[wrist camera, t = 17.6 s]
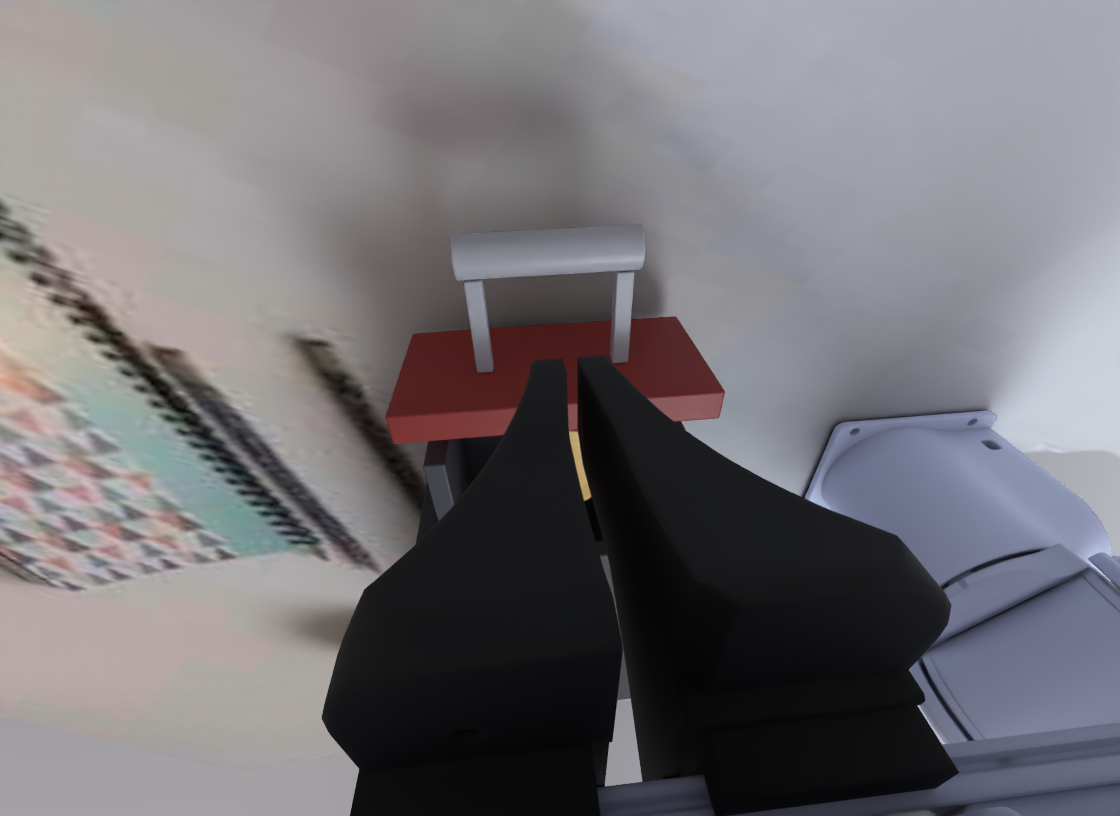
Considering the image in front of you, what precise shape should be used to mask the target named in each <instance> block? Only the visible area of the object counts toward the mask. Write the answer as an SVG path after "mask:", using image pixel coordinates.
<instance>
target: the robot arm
mask: <svg viewBox="0 0 1120 816" xmlns="http://www.w3.org/2000/svg"><path fill="white" fill-rule="evenodd" d="M996 420H997V415H996V414H995V413H994V412H992V411H989V410H988V411H976V412H963V413H951V414H939V415H926V416H914V417H901V418H889V419H877V420H864V421H852V422H843V423H840V424H838V425H837V426H836V427H835V429H834V430H833V433H832V435H831V437H830V440H829V442H828V445H827V447H826V449H825V452H824V454H823V456H822V459H821V461H820V463H819V466H818V468H817V470H816V473H815V475H814V477H813V480H812V482H811V484H810V487H809V489H808V491H807V494H806V496H805V498H802V497H800V496H798V495H796V494H794V493H791V492H789V491H787V490H785V489H783V488H781V487H779V486H777V485H775V484H773V483H771V482H769V481H767V480H765V479H763V478H761V477H759V476H758V475H756V474H754V473H752V472H750V471H749V470H747V469H745V468H743V467H741V466H740V465H738V464H736V463H734V462H732V461H731V460H729V459H727V458H726V457H724V456H722V455H721V454H719V453H718V452H716V451H715V450H713V449H712V448H710V447H709V446H707V445H706V444H704V443H703V442H701V441H700V440H698V439H697V438H695V437H694V436H692V435H691V434H690V433H688V432H687V431H685V430H684V429H683V428H681V427H680V426H679V425H678V424H676V423H675V422H674V421H673V420H671V419H670V418H669V417H668V416H667V415H665V414H664V413H663V412H662V411H661V410H659V409H658V408H657V407H656V406H655V405H654V404H653V403H652V402H651V401H650V400H648V399H647V398H646V397H645V396H644V395H643V394H642V393H641V392H640V391H639V390H638V389H637V388H636V387H635V386H634V385H633V384H632V383H631V382H630V381H629V380H628V379H627V378H626V377H625V376H624V375H623V374H622V373H621V372H620V371H619V370H618V369H617V368H616V367H615V366H614V364H613V363H612V362H611V361H610V360H609V359H608V358H607V357H606V356H605V355H601V356H587V357H577V428H578V436H579V443H580V450H581V456H582V463H583V467H584V471H585V475H586V479H587V482H588V486H589V490H590V493H591V497H592V500H593V504H594V508H595V511H596V515H597V519H598V522H599V526H600V529H601V533H602V537H603V540H604V544H605V548H606V552H607V557H608V561H609V565H610V571H611V577H612V583H613V589H614V595H615V601H616V607H617V613H618V619H619V624H618V619H617V614H616V609H615V604H614V599H613V595H612V592H611V589H610V586H609V583H608V580H607V578H606V575H605V571H604V568H603V565H602V562H601V558H600V555H599V552H598V548H597V545H596V542H595V539H594V535H593V532H592V528H591V524H590V521H589V517H588V513H587V509H586V506H585V502H584V498H583V494H582V490H581V486H580V482H579V478H578V473H577V469H576V465H575V460H574V456H573V451H572V446H571V442H570V435H569V425H568V394H567V372H566V368H565V365H564V362H563V359H562V358H558V359H544V360H535V361H534V362H533V363H532V364H531V365H530V373H529V377H528V381H527V384H526V387H525V390H524V393H523V395H522V398H521V400H520V402H519V405H518V407H517V410H516V412H515V414H514V416H513V418H512V420H511V422H510V424H509V426H508V428H507V429H506V431H505V433H504V435H503V437H502V439H501V441H500V442H499V444H498V446H497V447H496V449H495V451H494V452H493V454H492V455H491V457H490V458H489V460H488V461H487V463H486V464H485V466H484V467H483V469H482V470H481V471H480V473H479V474H478V475H477V477H476V478H475V479H474V481H473V482H472V483H471V484H470V486H469V487H468V488H467V490H466V491H465V492H464V493H463V495H462V496H461V497H460V498H459V499H458V501H457V502H456V503H455V504H454V505H453V506H452V507H451V509H450V510H449V511H448V512H447V513H446V514H445V515H444V516H443V517H442V518H441V519H440V520H439V521H438V522H437V523H436V524H435V525H434V526H433V527H432V529H431V530H430V531H429V532H428V533H427V534H426V535H425V536H424V537H423V538H422V539H421V540H420V541H419V542H418V543H417V544H416V545H415V546H414V547H413V548H412V549H410V550H409V551H408V552H407V553H406V554H405V555H404V556H403V557H401V558H400V559H399V560H398V561H397V562H396V563H395V564H393V565H392V566H391V567H390V568H389V569H388V570H387V571H385V572H384V573H383V574H382V575H381V576H380V577H379V578H378V579H376V580H375V581H374V582H373V583H372V584H370V585H369V586H368V587H367V588H365V590H364V592H363V594H362V596H361V598H360V600H359V603H358V605H357V607H356V609H355V611H354V614H353V616H352V618H351V621H350V624H349V626H348V629H347V631H346V633H345V635H344V638H343V640H342V643H341V646H340V649H339V652H338V655H337V659H336V663H335V666H334V670H333V674H332V678H331V682H330V685H329V689H328V693H327V697H326V701H325V704H324V709H323V714H322V720H323V722H324V724H325V726H326V728H327V730H328V732H329V733H330V735H331V736H332V737H333V739H334V740H335V741H336V742H337V743H338V744H339V746H340V747H341V748H342V749H343V750H344V751H345V753H346V754H347V755H348V756H349V757H350V758H351V760H352V761H353V762H354V763H355V764H356V765H357V767H358V768H359V774H358V779H357V783H356V789H355V794H354V798H353V803H352V808H351V813H350V816H1120V556H1112V557H1111V545H1110V541H1109V538H1108V535H1107V533H1106V530H1105V529H1104V526H1103V524H1102V522H1101V521H1100V519H1099V518H1098V516H1097V515H1096V513H1095V512H1094V511H1093V510H1092V509H1091V508H1090V507H1089V505H1088V504H1087V503H1086V502H1085V501H1084V500H1083V499H1081V498H1080V497H1079V496H1078V495H1076V494H1075V493H1074V492H1072V491H1071V490H1070V489H1069V488H1067V487H1066V486H1065V485H1063V484H1062V483H1061V482H1060V481H1058V480H1057V479H1056V478H1054V477H1053V476H1052V475H1051V474H1049V473H1048V472H1047V471H1045V470H1044V469H1043V468H1041V467H1040V466H1039V465H1038V464H1036V463H1035V462H1034V461H1032V460H1031V459H1030V458H1029V457H1027V456H1026V455H1025V454H1023V453H1022V452H1021V451H1019V450H1018V449H1017V448H1016V447H1014V446H1013V445H1012V444H1010V443H1009V442H1008V441H1007V440H1005V439H1004V438H1003V437H1001V436H1000V435H999V434H997V433H996V432H995V431H994V430H992V429H991V427H992V426H993V424H994V423H995V421H996ZM1104 575H1105V576H1106V577H1108V578H1109V579H1110V580H1111V582H1112V583H1111V582H1110V581H1109V580H1108V579H1107V578H1106V577H1105V576H1104ZM619 625H620V629H619ZM620 631H621V634H620ZM621 638H622V639H621ZM622 644H623V648H622ZM623 650H624V657H625V663H626V670H627V676H628V683H629V690H630V696H631V703H632V710H633V716H634V724H635V731H636V738H637V745H638V752H639V759H640V766H641V774H642V782H638V783H630V784H623V785H616V786H615V785H614V786H606V787H605V776H606V766H607V757H608V748H609V742H612V739H613V731H614V722H615V714H616V705H617V697H618V688H619V680H620V671H621V662H622V654H623ZM917 705H920V707H921V709H922V710H923V712H924V713H925V715H926V717H927V718H928V720H929V721H930V723H931V724H932V726H933V727H934V729H935V730H936V731H937V733H938V734H939V736H940V737H941V738H942V740H943V741H944V742H945V744H943V745H942V744H941V743H940V741H939V740H938V738H937V736H936V735H935V733H934V732H933V730H932V728H931V727H930V725H929V724H928V722H927V720H926V719H925V717H924V716H923V714H922V713H921V711H920V709H919V708H918V706H917Z"/></svg>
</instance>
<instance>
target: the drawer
mask: <svg viewBox="0 0 1120 816" xmlns="http://www.w3.org/2000/svg"><path fill="white" fill-rule="evenodd" d="M450 252H451V261H452V267H453V272H454V275H455V278H456V280H464V283H463V284H464V291H465V297H466V303H467V310H468V316H469V323H470V329H471V330H461V331H445V332H430V333H415V334H413V335H412V338H411V341H410V344H409V347H408V350H407V353H406V356H405V359H404V362H403V365H402V368H401V371H400V374H399V377H398V380H397V383H396V386H395V389H394V393H393V396H392V399H391V402H390V405H389V408H388V411H387V414H386V417H385V418H386V421H387V424H388V427H389V431H390V434H391V437H392V440H393V443H395V444H397V443H410V442H423V441H428V445H427V450H426V455H425V460H424V465H423V468H424V472H425V475H426V479H427V482H428V486H429V490H430V493H431V497H432V500H433V504H434V508H435V511H436V515H437V518H438V521H439V520H440V519H441V518H442V517H443V516H444V515H445V514H446V513H447V512H448V511H449V510H450V509H451V507H452V506H453V505H454V504H455V503H456V502H457V501H458V499H459V498H460V497H461V496H462V495H463V493H464V492H465V491H466V490H467V488H468V487H469V486H470V484H471V483H472V482H473V481H474V479H475V478H476V477H477V475H478V474H479V473H480V471H481V470H482V469H483V467H484V466H485V464H486V463H487V461H488V460H489V458H490V457H491V455H492V454H493V452H494V451H495V449H496V447H497V446H498V444H499V442H500V441H501V439H502V437H503V435H504V433H505V431H506V429H507V428H508V426H509V424H510V422H511V420H512V418H513V416H514V414H515V412H516V410H517V407H518V405H519V402H520V400H521V398H522V395H523V393H524V390H525V387H526V384H527V381H528V377H529V373H530V365H531V364H532V363H533V362H534V361H535V360H544V359H558V358H562V359H563V362H564V365H565V368H566V372H567V394H568V425H569V430H575V429H578V428H577V357H587V356H601V355H605V356H606V357H607V358H608V359H609V360H610V361H611V362H612V363H613V364H614V366H615V367H616V368H617V369H618V370H619V371H620V372H621V373H622V374H623V375H624V376H625V377H626V378H627V379H628V380H629V381H630V382H631V383H632V384H633V385H634V386H635V387H636V388H637V389H638V390H639V391H640V392H641V393H642V394H643V395H644V396H645V397H646V398H647V399H648V400H650V401H651V402H652V403H653V404H654V405H655V406H656V407H657V408H658V409H659V410H661V411H662V412H663V413H664V414H665V415H667V416H668V417H669V418H670V419H671V420H673V421H674V422H675V423H676V424H678V425H679V426H680V427H681V428H683V429H684V430H685V428H684V426H683V424H682V422H681V421H689V420H701V419H714V418H719V416H720V411H721V407H722V403H723V398H724V394H725V391H724V389H723V388H722V386H721V385H720V383H719V382H718V380H717V379H716V377H715V376H714V374H713V372H712V371H711V369H710V368H709V366H708V365H707V363H706V362H705V360H704V359H703V357H702V356H701V354H700V352H699V351H698V349H697V348H696V346H695V345H694V343H693V342H692V340H691V339H690V337H689V336H688V334H687V332H686V331H685V329H684V328H683V326H682V325H681V323H680V322H679V320H678V319H677V317H659V318H644V319H631V313H632V299H633V286H634V271H633V270H639V269H641V268H642V266H643V263H644V259H645V234H644V230H643V227H642V226H641V225H640V224H633V225H614V226H595V227H576V228H558V229H539V230H520V231H501V232H482V233H464V234H452V235H451V238H450ZM610 271H614V274H613V295H612V317H611V321H598V322H583V323H568V324H552V325H537V326H522V327H506V328H491V329H489V323H488V315H487V307H486V300H485V292H484V284H483V279H491V278H508V277H525V276H542V275H559V274H576V273H593V272H610ZM685 431H686V430H685ZM584 502H585V506H586V509H587V513H588V517H589V521H590V524H591V528H592V532H593V535H594V539H595V541H601V540H603V537H602V533H601V529H600V526H599V522H598V519H597V515H596V511H595V508H594V504H593V500H592V497H591V498H589V499H588V500H585V501H584Z"/></svg>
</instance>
